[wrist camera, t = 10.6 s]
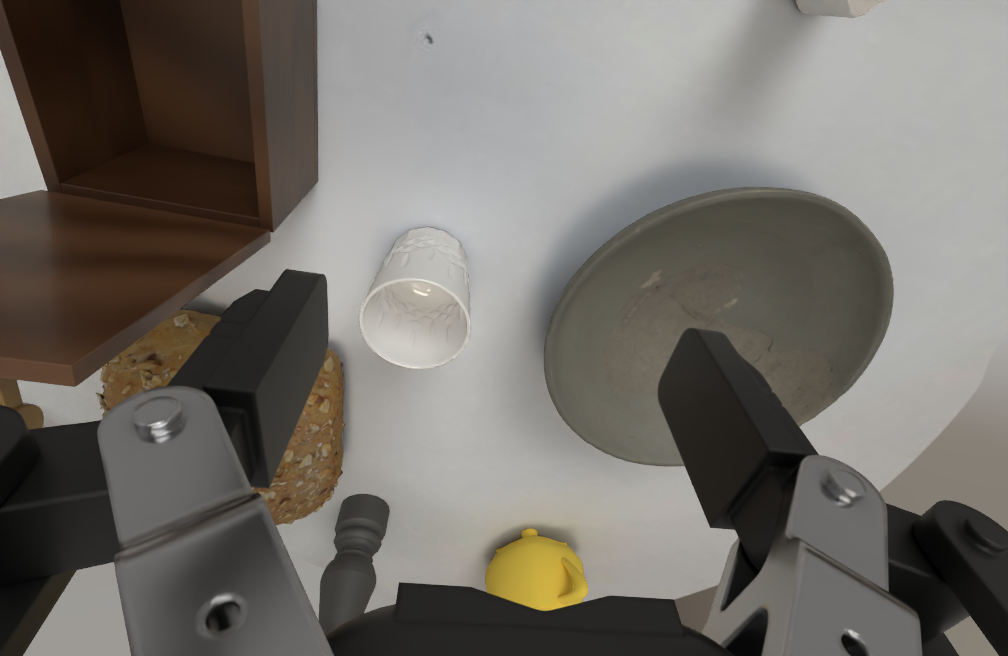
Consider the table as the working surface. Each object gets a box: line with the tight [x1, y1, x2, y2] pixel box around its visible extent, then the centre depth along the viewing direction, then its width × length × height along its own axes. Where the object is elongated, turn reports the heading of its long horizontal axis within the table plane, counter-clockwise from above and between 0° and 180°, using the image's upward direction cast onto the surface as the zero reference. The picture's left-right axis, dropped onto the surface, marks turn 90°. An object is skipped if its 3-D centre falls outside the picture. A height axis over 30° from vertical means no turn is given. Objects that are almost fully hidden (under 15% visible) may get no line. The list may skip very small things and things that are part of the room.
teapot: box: [485, 529, 588, 611], centre depth 65 cm, size 14×14×12 cm
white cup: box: [359, 227, 471, 369], centre depth 38 cm, size 8×8×10 cm
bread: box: [96, 310, 345, 525], centre depth 46 cm, size 24×21×12 cm
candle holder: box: [319, 494, 390, 635], centre depth 53 cm, size 6×6×25 cm
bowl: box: [544, 187, 894, 466], centre depth 42 cm, size 27×28×8 cm
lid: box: [0, 190, 270, 429], centre depth 22 cm, size 16×13×6 cm
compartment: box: [0, 0, 318, 232], centre depth 29 cm, size 16×13×10 cm
